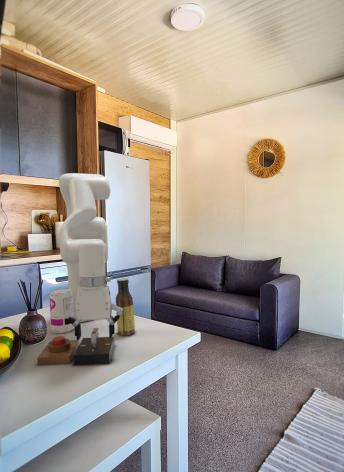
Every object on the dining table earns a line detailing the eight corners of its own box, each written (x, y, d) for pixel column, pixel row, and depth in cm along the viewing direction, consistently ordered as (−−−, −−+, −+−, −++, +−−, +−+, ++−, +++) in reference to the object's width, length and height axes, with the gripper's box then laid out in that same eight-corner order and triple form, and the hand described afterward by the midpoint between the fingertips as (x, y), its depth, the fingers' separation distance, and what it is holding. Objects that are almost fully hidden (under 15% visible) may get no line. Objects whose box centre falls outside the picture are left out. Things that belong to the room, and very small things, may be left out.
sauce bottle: (136, 330, 114) (135, 277, 113) (132, 336, 108) (131, 280, 106) (119, 329, 115) (117, 277, 113) (114, 336, 109) (112, 280, 107)
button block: (50, 347, 99) (50, 335, 99) (78, 346, 100) (78, 334, 100) (37, 365, 88) (36, 351, 87) (69, 363, 88) (69, 350, 88)
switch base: (83, 346, 100) (82, 337, 100) (114, 345, 101) (114, 335, 100) (73, 365, 87) (73, 355, 87) (109, 363, 88) (109, 353, 87)
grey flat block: (94, 342, 96) (93, 327, 95) (98, 342, 96) (98, 327, 96) (91, 348, 91) (90, 332, 91) (96, 348, 91) (95, 332, 91)
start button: (54, 341, 95) (54, 336, 95) (66, 341, 96) (66, 335, 95) (51, 346, 92) (51, 340, 92) (63, 345, 92) (63, 340, 92)
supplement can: (52, 335, 110) (50, 294, 109) (49, 328, 117) (48, 290, 116) (75, 331, 114) (74, 291, 113) (72, 325, 121) (70, 287, 120)
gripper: (123, 278, 97) (124, 331, 97) (66, 280, 95) (69, 334, 96) (121, 283, 89) (122, 340, 90) (60, 285, 88) (62, 343, 89)
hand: (95, 337), depth 93 cm, fingers open, 9 cm apart
